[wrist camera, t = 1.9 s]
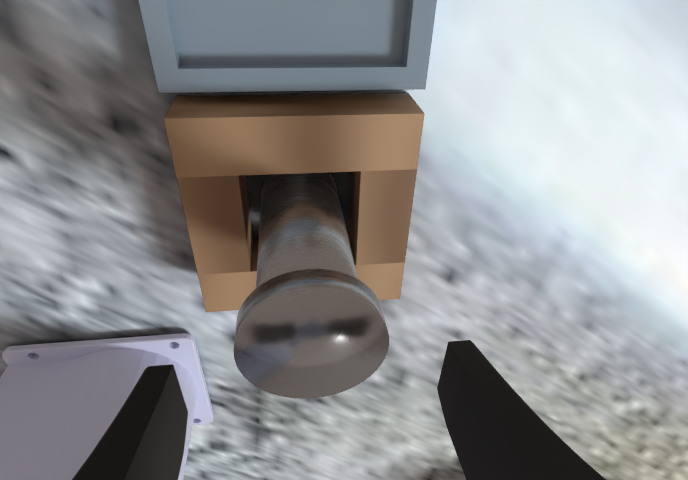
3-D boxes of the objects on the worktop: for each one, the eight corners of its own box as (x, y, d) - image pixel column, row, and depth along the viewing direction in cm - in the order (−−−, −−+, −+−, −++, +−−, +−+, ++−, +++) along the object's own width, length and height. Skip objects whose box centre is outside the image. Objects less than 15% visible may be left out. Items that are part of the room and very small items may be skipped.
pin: (255, 237, 21) (242, 404, 13) (244, 151, 18) (223, 299, 11) (346, 232, 21) (383, 391, 14) (349, 147, 19) (395, 288, 11)
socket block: (212, 277, 22) (206, 312, 20) (176, 96, 17) (163, 118, 15) (389, 267, 23) (399, 298, 21) (408, 93, 18) (424, 113, 16)
